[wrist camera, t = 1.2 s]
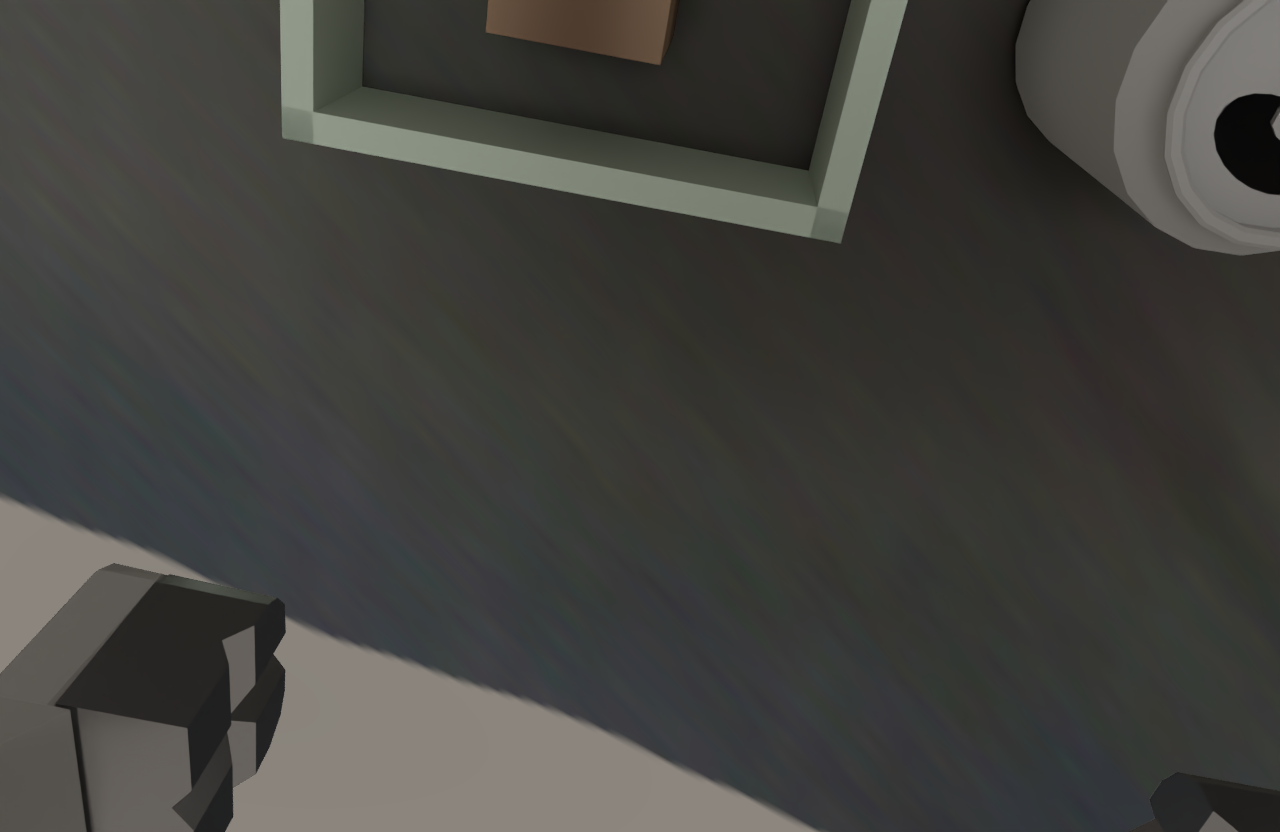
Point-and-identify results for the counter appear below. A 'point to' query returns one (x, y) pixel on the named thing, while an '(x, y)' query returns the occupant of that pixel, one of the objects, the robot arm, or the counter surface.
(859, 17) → the pale green frame
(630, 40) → the block
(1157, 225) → the can
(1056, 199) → the counter surface
